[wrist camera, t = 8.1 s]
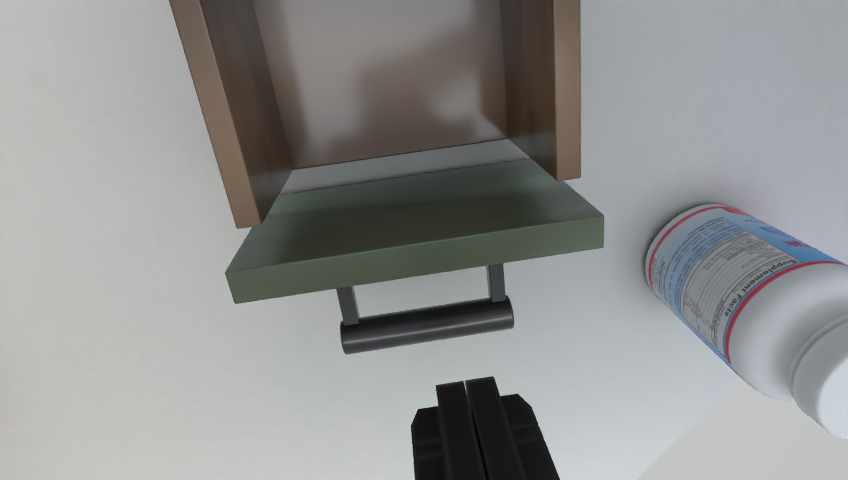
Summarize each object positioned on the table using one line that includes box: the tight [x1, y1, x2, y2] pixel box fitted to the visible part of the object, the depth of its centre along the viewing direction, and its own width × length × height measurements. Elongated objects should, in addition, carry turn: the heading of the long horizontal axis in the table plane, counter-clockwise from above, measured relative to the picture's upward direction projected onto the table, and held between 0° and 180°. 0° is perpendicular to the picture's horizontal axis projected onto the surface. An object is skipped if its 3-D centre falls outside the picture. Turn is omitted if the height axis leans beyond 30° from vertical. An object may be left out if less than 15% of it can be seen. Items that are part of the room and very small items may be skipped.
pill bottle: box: [645, 204, 848, 439], centre depth 22 cm, size 6×6×11 cm
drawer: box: [169, 0, 604, 354], centre depth 18 cm, size 20×12×8 cm, turn 7°
